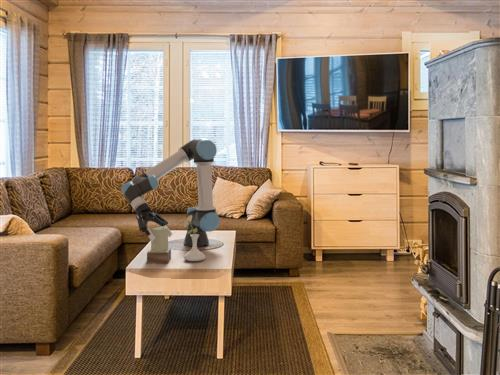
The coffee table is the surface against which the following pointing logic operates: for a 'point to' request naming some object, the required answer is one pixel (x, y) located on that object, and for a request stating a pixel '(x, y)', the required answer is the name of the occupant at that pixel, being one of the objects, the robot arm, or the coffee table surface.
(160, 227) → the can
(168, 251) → the brown square box
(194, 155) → the robot arm
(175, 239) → the coffee table surface
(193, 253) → the flower in vase
